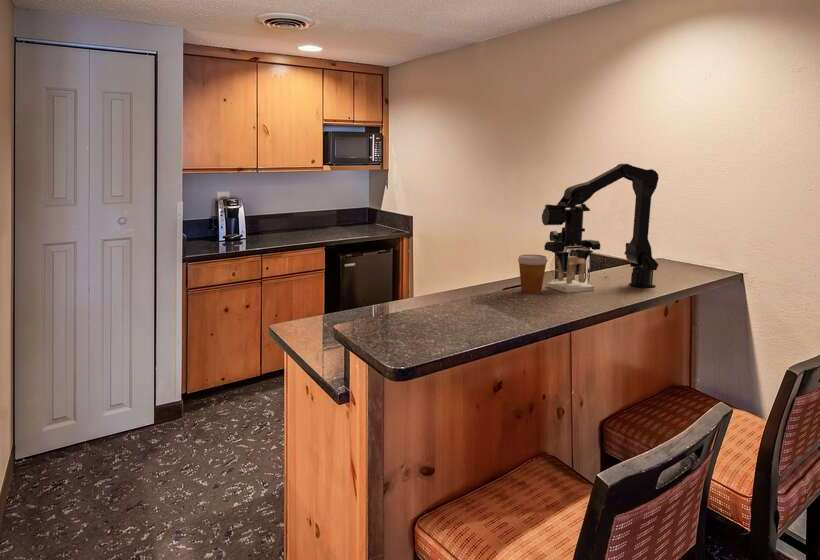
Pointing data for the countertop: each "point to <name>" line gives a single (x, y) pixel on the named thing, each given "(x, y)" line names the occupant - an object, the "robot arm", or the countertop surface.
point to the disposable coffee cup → (532, 273)
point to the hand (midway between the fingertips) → (571, 271)
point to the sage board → (570, 286)
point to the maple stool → (573, 269)
